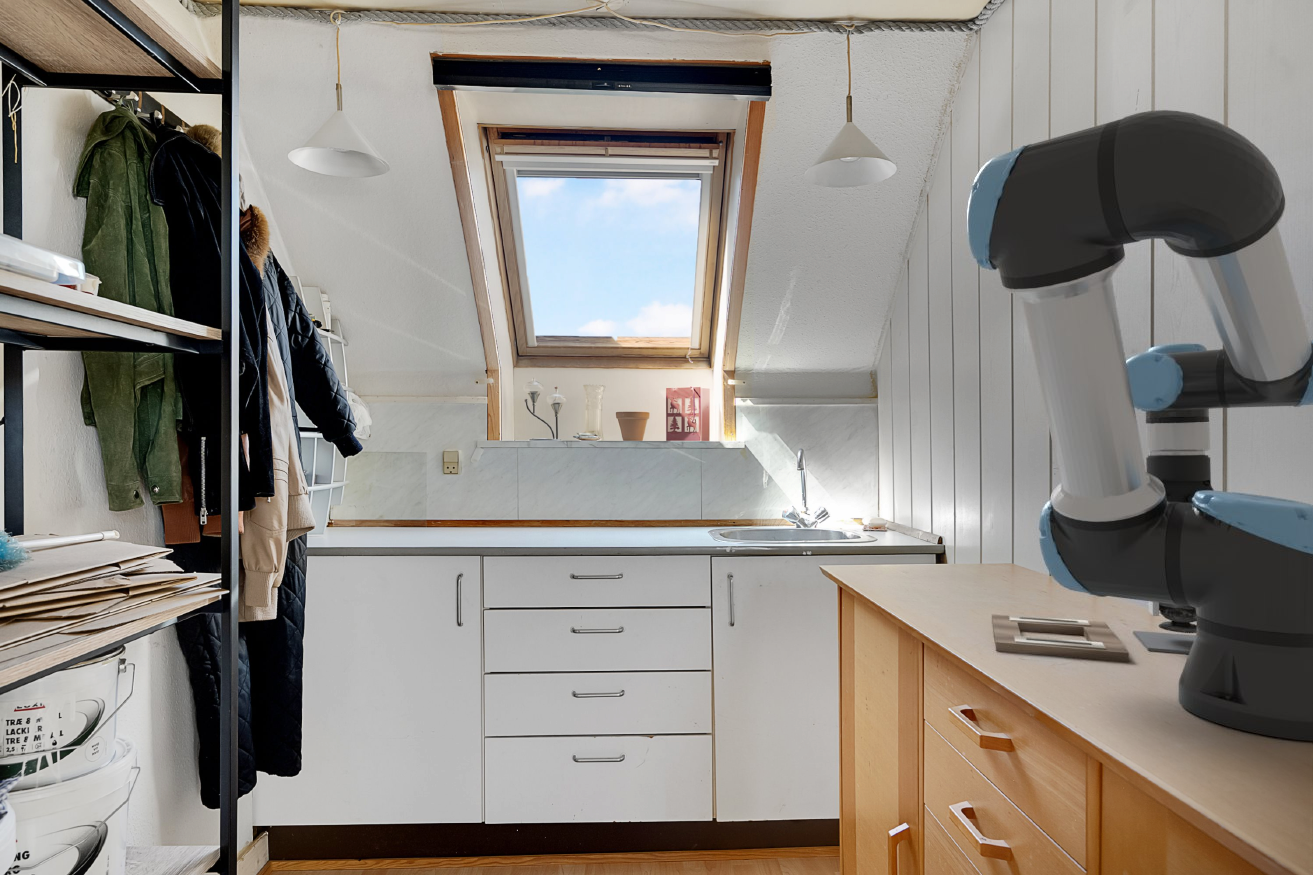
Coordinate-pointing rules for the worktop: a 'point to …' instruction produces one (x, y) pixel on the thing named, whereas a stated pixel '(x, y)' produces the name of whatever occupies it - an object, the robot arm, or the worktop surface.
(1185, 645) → the rubber mat
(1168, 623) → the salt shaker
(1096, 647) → the label board
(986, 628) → the worktop surface
